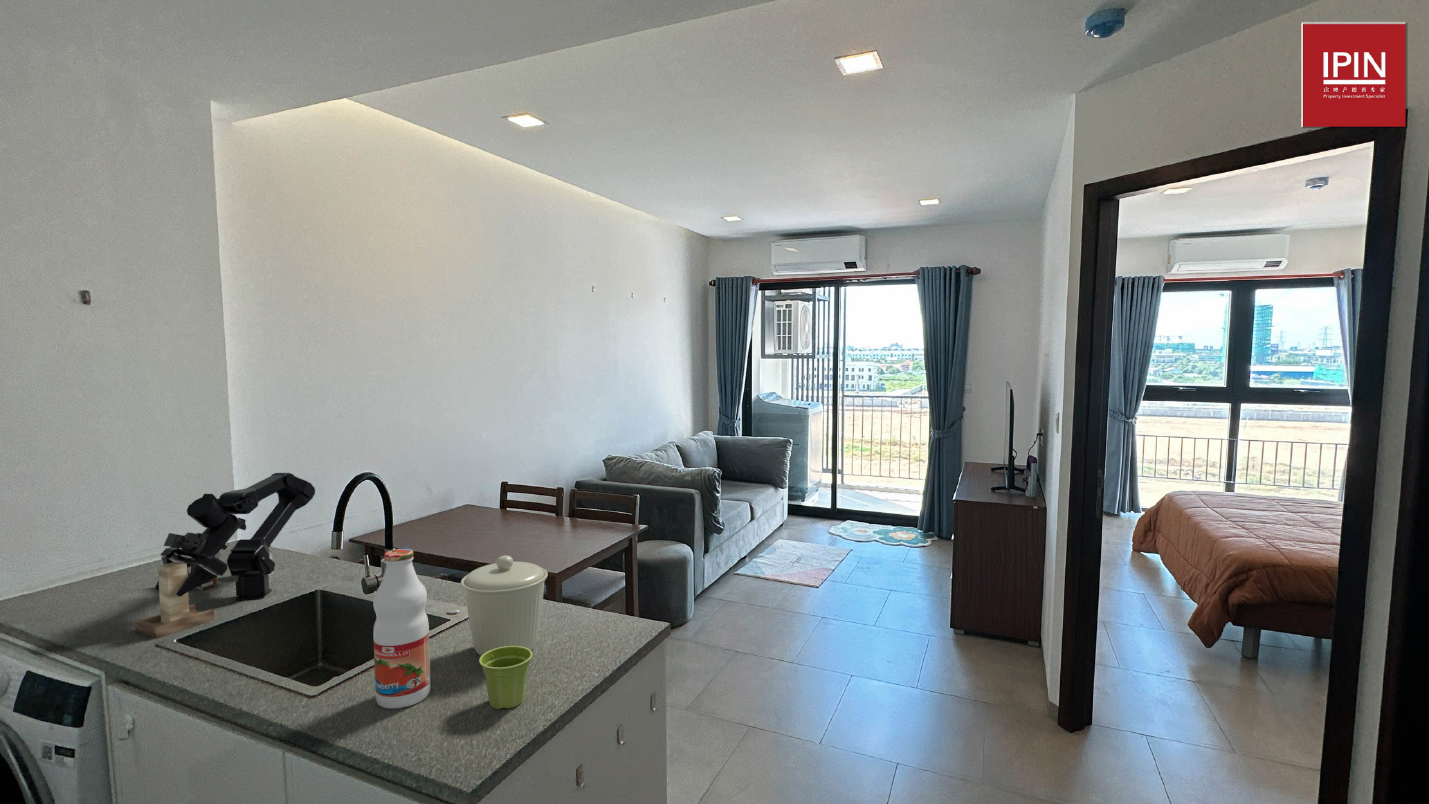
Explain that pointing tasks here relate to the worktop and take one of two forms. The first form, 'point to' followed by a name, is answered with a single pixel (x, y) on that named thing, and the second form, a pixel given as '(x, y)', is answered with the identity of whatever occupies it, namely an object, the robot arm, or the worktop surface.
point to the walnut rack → (172, 623)
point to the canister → (504, 604)
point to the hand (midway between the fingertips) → (167, 592)
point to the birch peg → (172, 591)
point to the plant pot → (506, 675)
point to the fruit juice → (401, 634)
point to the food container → (209, 583)
